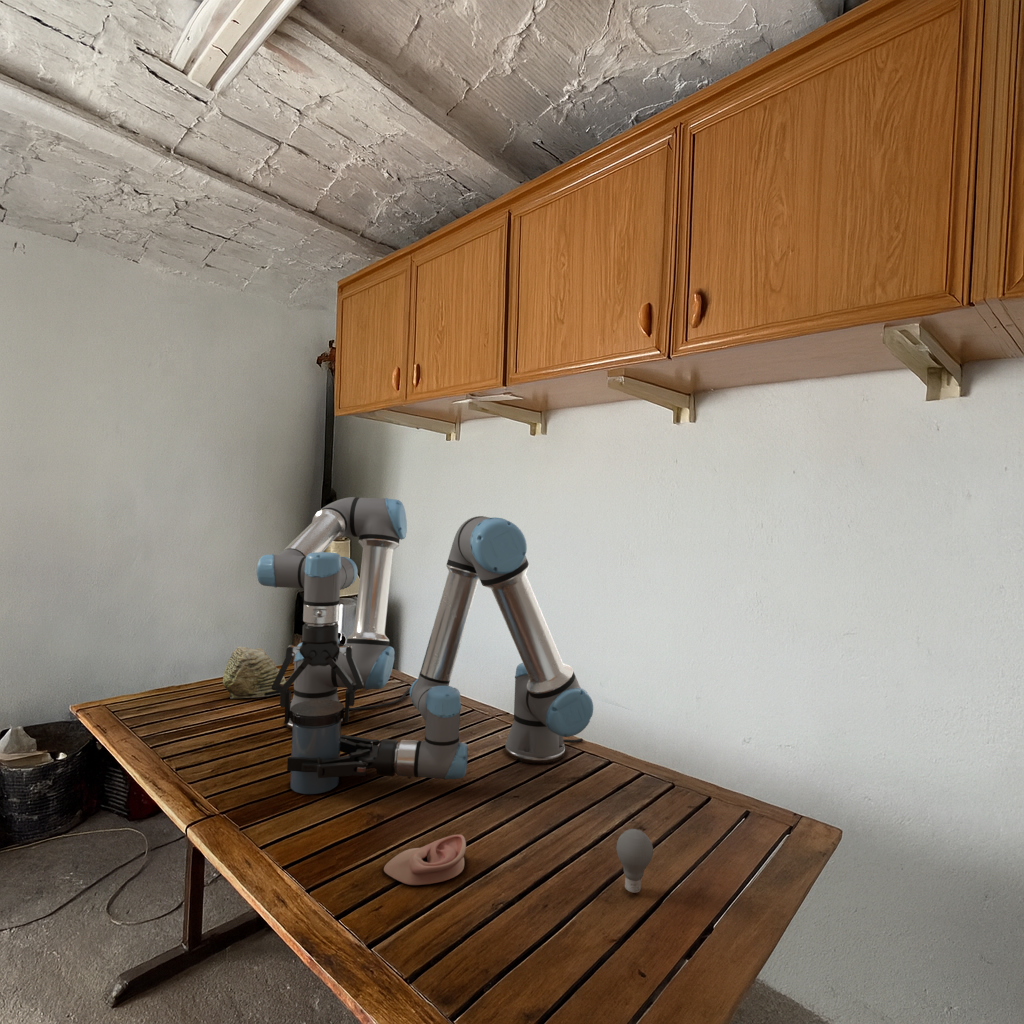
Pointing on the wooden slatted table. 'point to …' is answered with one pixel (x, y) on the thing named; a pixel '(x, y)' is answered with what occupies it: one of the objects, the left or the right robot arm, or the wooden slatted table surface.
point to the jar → (314, 755)
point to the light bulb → (634, 857)
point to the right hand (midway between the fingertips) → (296, 753)
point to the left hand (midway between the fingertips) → (317, 720)
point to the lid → (317, 712)
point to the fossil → (250, 674)
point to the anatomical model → (429, 862)
